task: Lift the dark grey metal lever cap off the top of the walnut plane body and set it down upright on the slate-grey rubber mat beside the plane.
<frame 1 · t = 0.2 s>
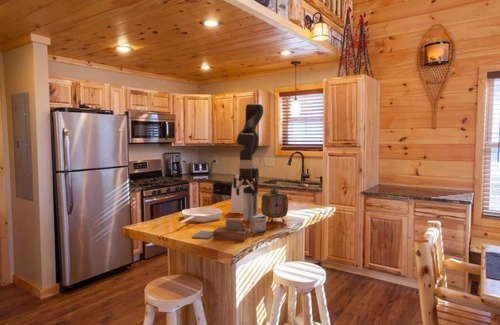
hand: (245, 195, 195), 17 cm above the countertop, tool pointing down, fingers open, 8 cm apart
milk: (240, 212, 233), on the countertop
rubber mat: (204, 235, 174), on the countertop
tabletop clock: (273, 222, 204), on the countertop
lever cap: (233, 229, 170), point 4 cm above the countertop, touching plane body
medicine box: (257, 232, 182), on the countertop
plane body: (231, 237, 171), on the countertop
pan: (196, 221, 207), on the countertop
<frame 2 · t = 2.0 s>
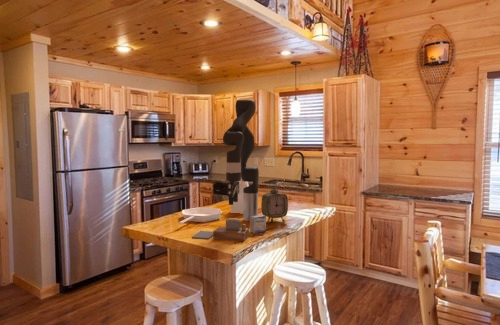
hand: (233, 203, 170), 18 cm above the countertop, tool pointing down, fingers open, 8 cm apart
nothing on the countertop moved.
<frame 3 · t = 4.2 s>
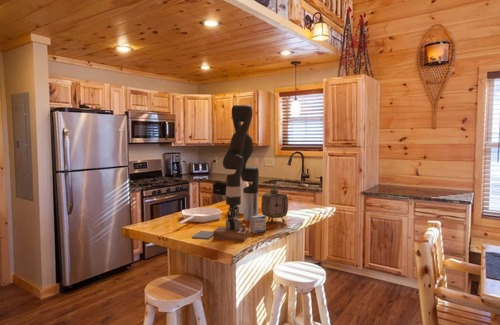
hand: (233, 228, 170), 5 cm above the countertop, tool pointing down, fingers closed on lever cap, 3 cm apart
lever cap: (233, 229, 170), point 4 cm above the countertop, touching gripper, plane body
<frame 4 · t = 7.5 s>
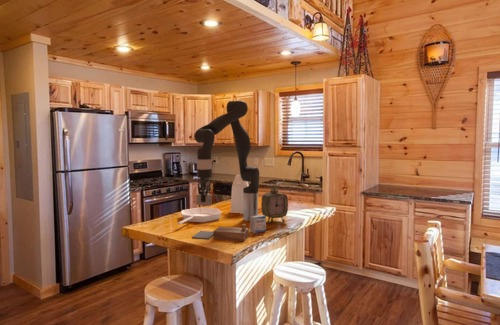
hand: (204, 201, 173), 18 cm above the countertop, tool pointing down, fingers closed on lever cap, 3 cm apart
lever cap: (203, 204, 173), point 16 cm above the countertop, touching gripper
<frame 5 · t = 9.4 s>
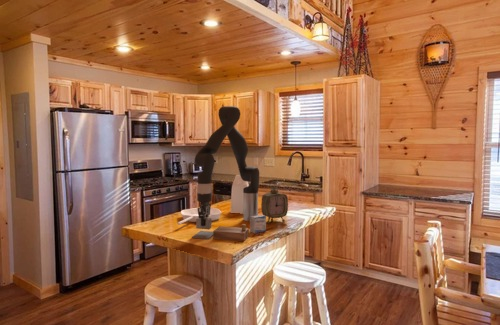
hand: (204, 224, 174), 6 cm above the countertop, tool pointing down, fingers closed on lever cap, 3 cm apart
lever cap: (203, 228, 174), point 4 cm above the countertop, touching gripper
when the fingers open (3 cm above the countertop, at t = 10.8 s): lever cap stays where it is, resting on rubber mat.
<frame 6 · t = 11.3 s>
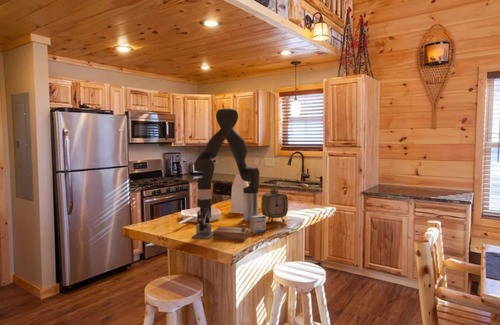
hand: (204, 228, 174), 4 cm above the countertop, tool pointing down, fingers open, 8 cm apart
lever cap: (203, 234, 174), point 1 cm above the countertop, touching rubber mat
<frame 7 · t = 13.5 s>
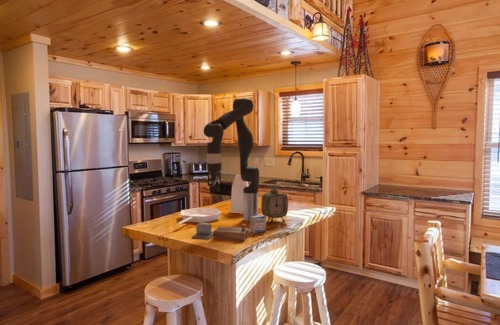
hand: (214, 192, 178), 22 cm above the countertop, tool pointing down, fingers open, 8 cm apart
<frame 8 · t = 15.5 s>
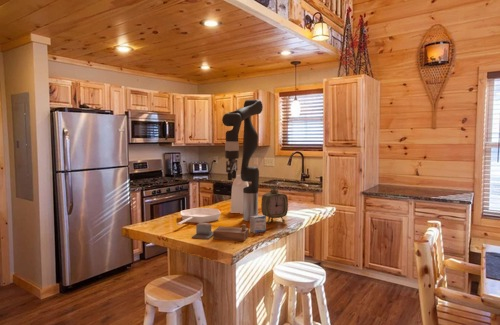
hand: (231, 179, 185), 28 cm above the countertop, tool pointing down, fingers open, 8 cm apart
at the end: lever cap inside the target area on the rubber mat (0.4 cm from its centre), point 0.6 cm above the rubber mat's base; lever cap tilted 0°; the gripper is holding nothing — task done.
